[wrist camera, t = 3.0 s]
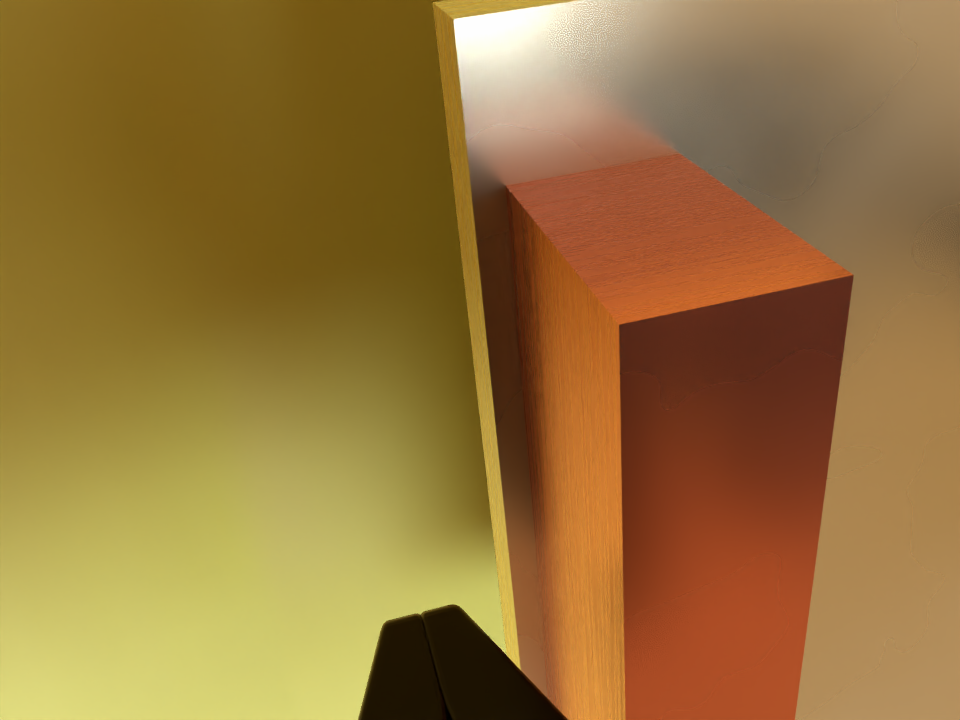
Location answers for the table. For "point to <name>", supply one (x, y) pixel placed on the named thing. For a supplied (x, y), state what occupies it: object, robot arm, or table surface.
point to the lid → (716, 348)
